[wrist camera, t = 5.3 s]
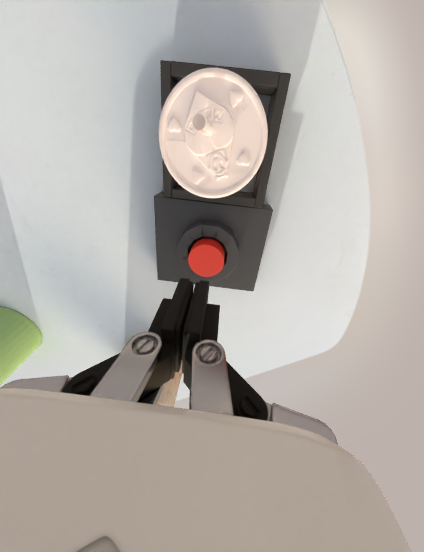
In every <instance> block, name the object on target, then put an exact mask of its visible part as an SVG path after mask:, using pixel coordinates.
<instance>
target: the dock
mask: <svg viewBox="0 0 424 552" xmlns="http://www.w3.org/2000/svg"><path fill="white" fill-rule="evenodd" d="M160 63H161V105H162V109H163V106H164V104H165V102H166V99H167V98H168V96H169V94H170V93H171V91H172V90H173V88H174V87H175V86H176V85H177V84H178V83H179V82H180V81H181V80H182V79H183V78H185V77H186V76H187V75H189V74H191V73H193V72H195V71H197V70H200V69H204V68H223V69H226V70H229V71H232V72H234V73H236V74H238V75H239V76H241V77H242V78H244V79H245V80H246V81H247V82H248V83H249V84H250V85H251V86H252V88H253V89H254V90H255V92H256V93H257V94H264V95H271V99H270V104H269V110H268V115H267V128H268V138H267V146H266V151H265V154H264V158H263V160H262V163H261V165H260V167H259V169H258V171H257V175H256V180H255V186H254V191H253V193H248V192H239V191H237V192H235V193H233V194H231V195H229V196H225V197H221V198H205V197H200V196H197V195H195V194H193V193H191V192H189V191H187V190H186V189H184V188H183V187H182V186H181V185H178V182H177V181H176V180H175V179H174V178H173V177H172V175H171V174H170V172H169V171H168V169H167V167H166V165H165V163H164V160H163V190H164V197H172V198H179V199H188V200H196V201H205V202H214V203H222V204H231V205H240V206H248V207H257V208H262V207H263V203H264V198H265V194H266V189H267V184H268V179H269V175H270V170H271V165H272V161H273V156H274V151H275V147H276V142H277V137H278V133H279V128H280V123H281V119H282V114H283V109H284V105H285V100H286V95H287V91H288V86H289V81H290V77H291V74H290V73H280V72H272V71H262V70H253V69H243V68H233V67H223V66H214V65H204V64H194V63H185V62H175V61H164V60H161V62H160Z"/></svg>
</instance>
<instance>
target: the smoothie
mask: <svg viewBox="0 0 424 552" xmlns="http://www.w3.org/2000/svg"><path fill="white" fill-rule="evenodd" d="M267 138H268V128H267V119H266V114H265V111H264V108H263V105H262V103H261V100H260V98H259V96H258V95H257V93H256V92H255V90H254V89H253V88H252V86H251V85H250V84H249V83H248V82H247V81H246V80H245V79H244V78H242V77H241V76H239V75H238V74H236V73H234V72H232V71H229V70H226V69H223V68H204V69H200V70H197V71H195V72H193V73H191V74H189V75H187V76H186V77H185V78H183V79H182V80H181V81H180V82H179V83H178V84H177V85H176V86H175V87H174V88H173V90H172V91H171V93H170V94H169V96H168V98H167V99H166V102H165V104H164V106H163V109H162V112H161V116H160V122H159V145H160V150H161V154H162V157H163V160H164V163H165V165H166V167H167V169H168V171H169V172H170V174H171V175H172V177H173V178H174V179H175V180H176V181H177V182H178V184H179V185H181V186H182V187H183V188H184V189H186V190H187V191H189V192H191V193H193V194H195V195H197V196H200V197H205V198H221V197H225V196H229V195H231V194H233V193H235V192H237V191H239V190H240V189H242V188H243V187H244V186H245V185H246V184H247V183H248V182H249V181H250V180H251V179H252V178H253V177H254V175H255V174H256V172H257V171H258V169H259V167H260V165H261V163H262V160H263V158H264V154H265V151H266V146H267Z"/></svg>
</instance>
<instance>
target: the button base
mask: <svg viewBox="0 0 424 552" xmlns="http://www.w3.org/2000/svg"><path fill="white" fill-rule="evenodd" d="M154 206H155V228H156V250H157V271H158V280H165V281H173V282H179V280H180V278H187V279H190V281H191V282H193V284H196V282H199V283H200V280H203V281H209V286H214V287H222V288H230V289H239V290H247V291H254V287H255V282H256V278H257V274H258V270H259V266H260V262H261V257H262V253H263V249H264V245H265V241H266V237H267V232H268V228H269V224H270V220H271V216H272V212H273V209H272V208H271V207H270V205H266V204H263V207H262V208H257V207H248V206H240V205H231V204H222V203H214V202H205V201H196V200H188V199H179V198H172V197H164V193H161V192H160V193H159V194H157V195H155V196H154ZM203 238H211V239H214V240H216V241H218V242H219V243H220V244H221V245H222V247H223V249H224V254H225V255H224V265H223V268H222V270H221V271H220V272H219V273H217V274H216V275H214V276H210V277H204V276H200V275H198V274H196V273H195V272H194V271H193V270H192V269H191V268H190V266H189V263H188V257H189V253H190V251H191V248H192V246H193V245H194V243H195V242H197V241H198V240H200V239H203Z"/></svg>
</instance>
